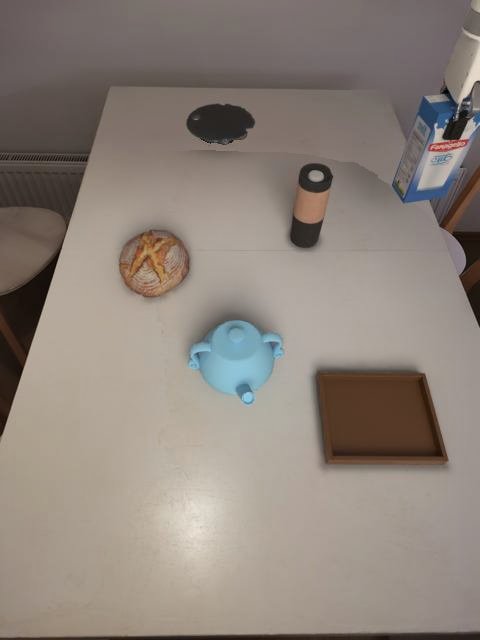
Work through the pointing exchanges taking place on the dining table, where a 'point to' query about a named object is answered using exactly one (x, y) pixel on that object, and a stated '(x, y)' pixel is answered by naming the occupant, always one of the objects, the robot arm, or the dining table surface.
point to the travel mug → (310, 204)
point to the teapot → (236, 358)
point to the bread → (153, 263)
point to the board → (220, 123)
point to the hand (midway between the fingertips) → (445, 126)
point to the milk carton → (432, 151)
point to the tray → (379, 419)
